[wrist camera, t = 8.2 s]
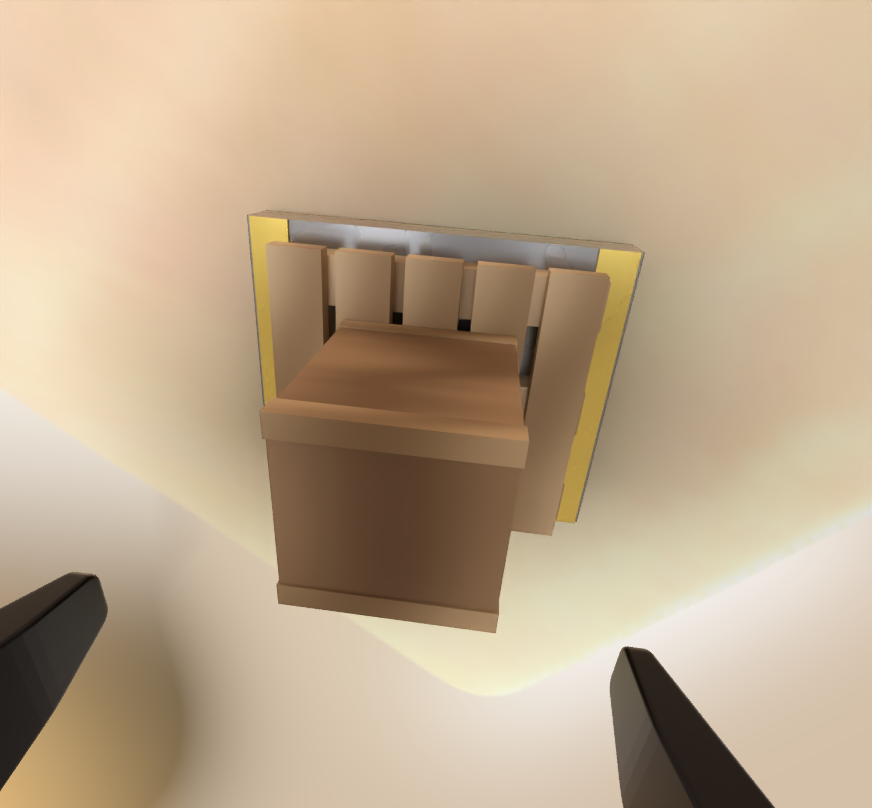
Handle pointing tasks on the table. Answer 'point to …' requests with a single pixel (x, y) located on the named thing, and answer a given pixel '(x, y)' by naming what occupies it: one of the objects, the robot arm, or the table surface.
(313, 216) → the dock
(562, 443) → the pallet
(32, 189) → the table surface
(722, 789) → the robot arm
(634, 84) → the table surface
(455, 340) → the crate
